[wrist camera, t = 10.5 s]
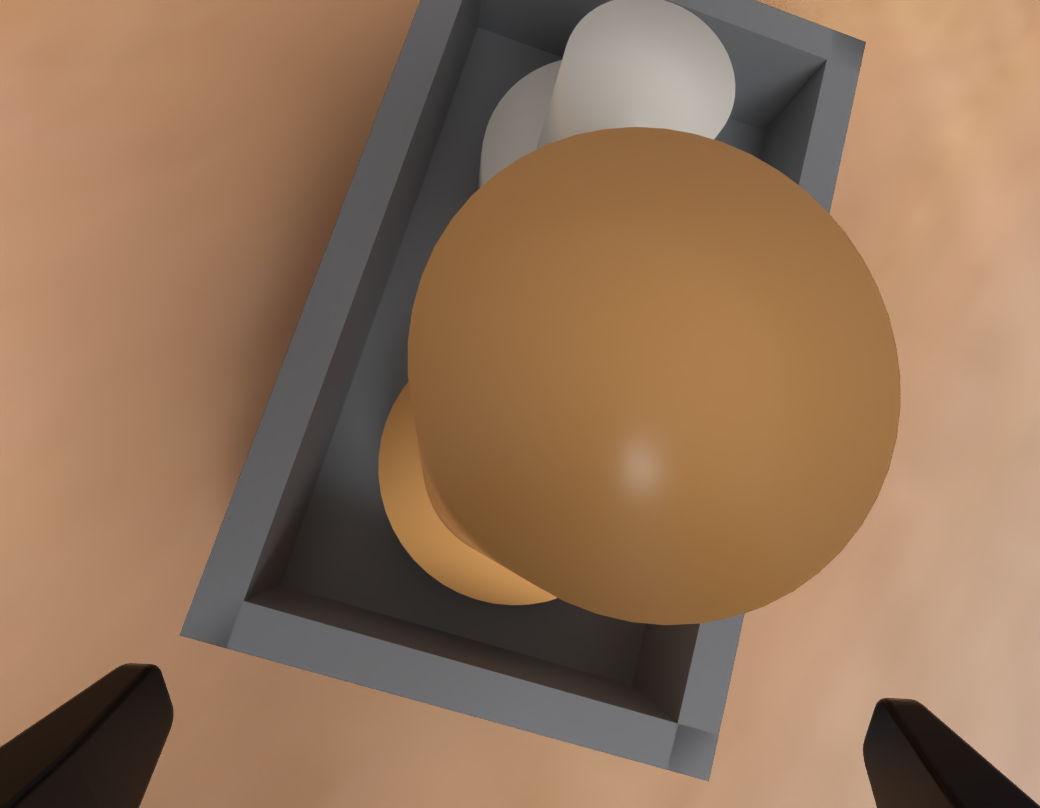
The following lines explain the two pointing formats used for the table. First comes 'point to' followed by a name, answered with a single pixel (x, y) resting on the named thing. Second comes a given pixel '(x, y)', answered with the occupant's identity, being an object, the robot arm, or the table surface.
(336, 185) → the table surface
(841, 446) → the mushroom shaped handle
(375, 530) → the grey storage tray
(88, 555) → the table surface
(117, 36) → the table surface
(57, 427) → the table surface
